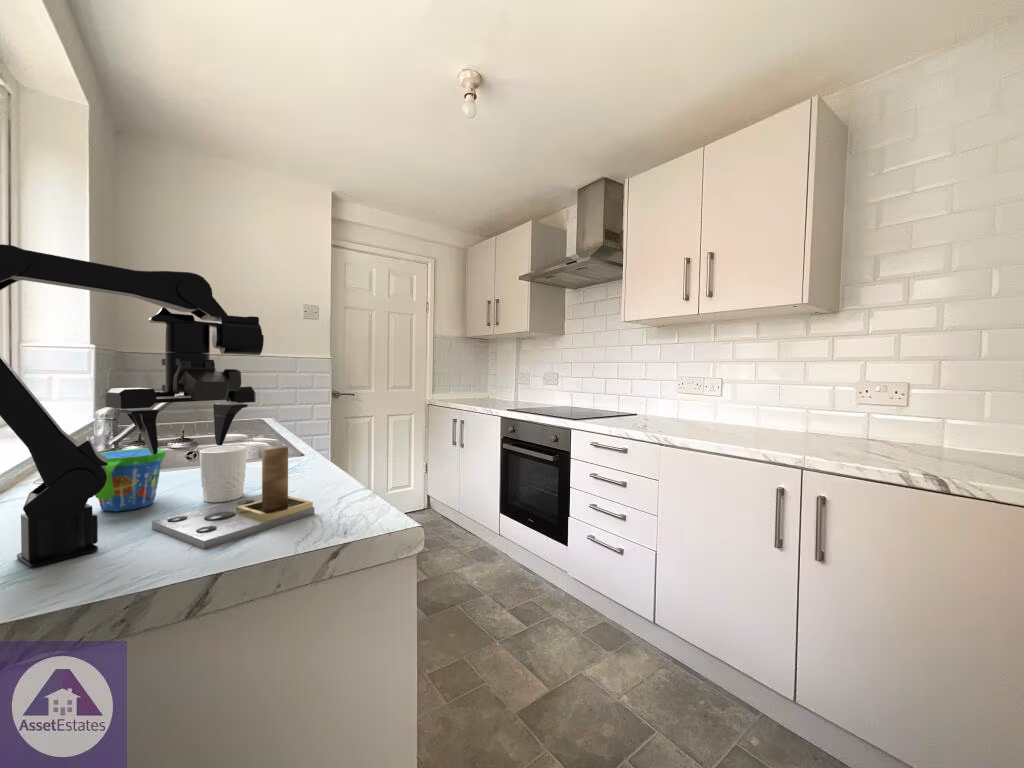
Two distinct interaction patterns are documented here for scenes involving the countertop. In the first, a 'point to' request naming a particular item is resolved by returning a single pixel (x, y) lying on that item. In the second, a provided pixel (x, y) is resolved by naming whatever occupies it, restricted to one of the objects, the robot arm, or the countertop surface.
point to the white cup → (223, 472)
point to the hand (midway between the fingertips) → (188, 449)
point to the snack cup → (130, 479)
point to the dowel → (274, 478)
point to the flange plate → (229, 521)
